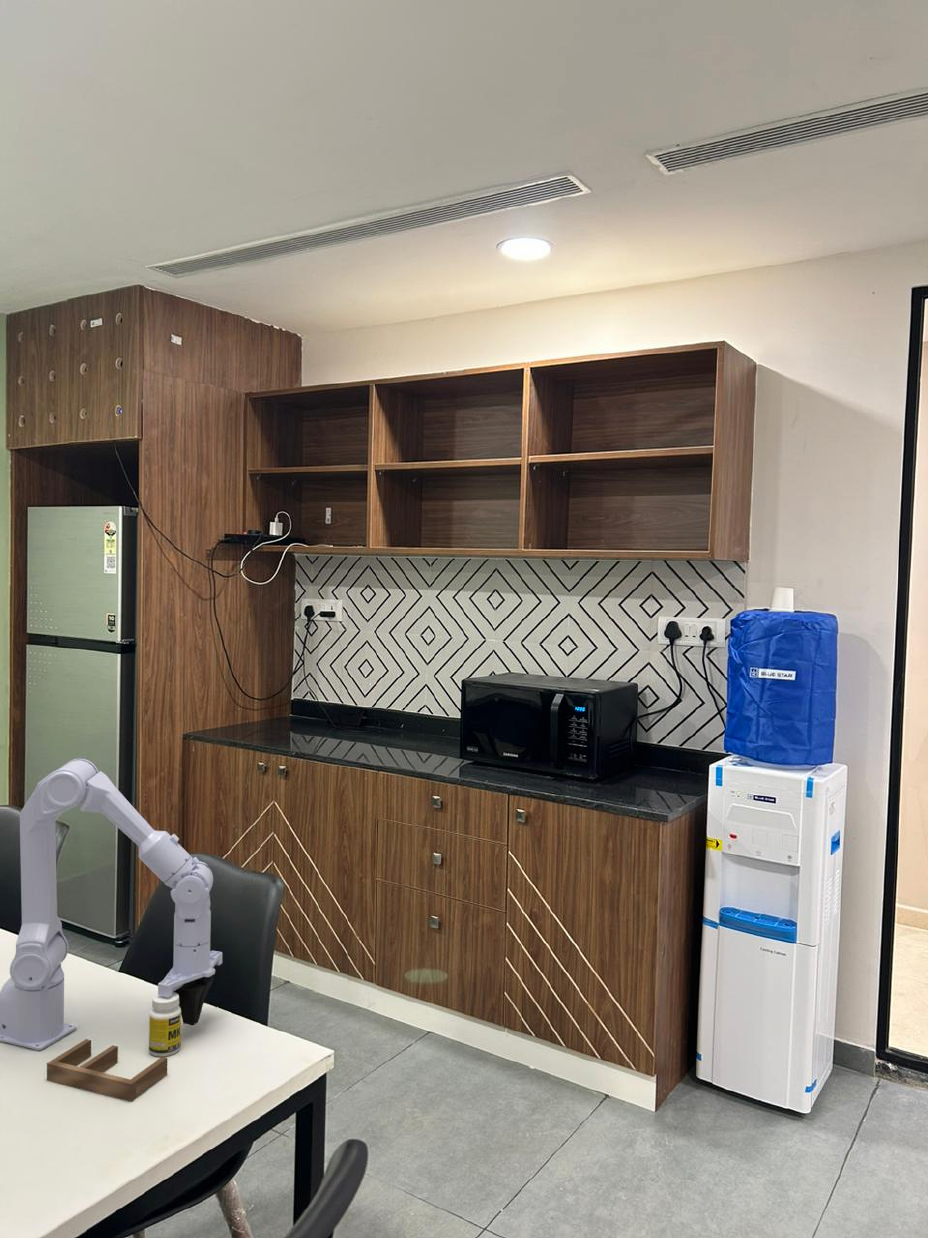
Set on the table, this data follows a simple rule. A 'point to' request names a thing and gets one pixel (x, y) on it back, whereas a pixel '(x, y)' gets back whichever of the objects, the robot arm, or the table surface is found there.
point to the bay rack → (93, 1076)
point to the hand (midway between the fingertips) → (190, 1023)
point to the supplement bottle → (165, 1025)
